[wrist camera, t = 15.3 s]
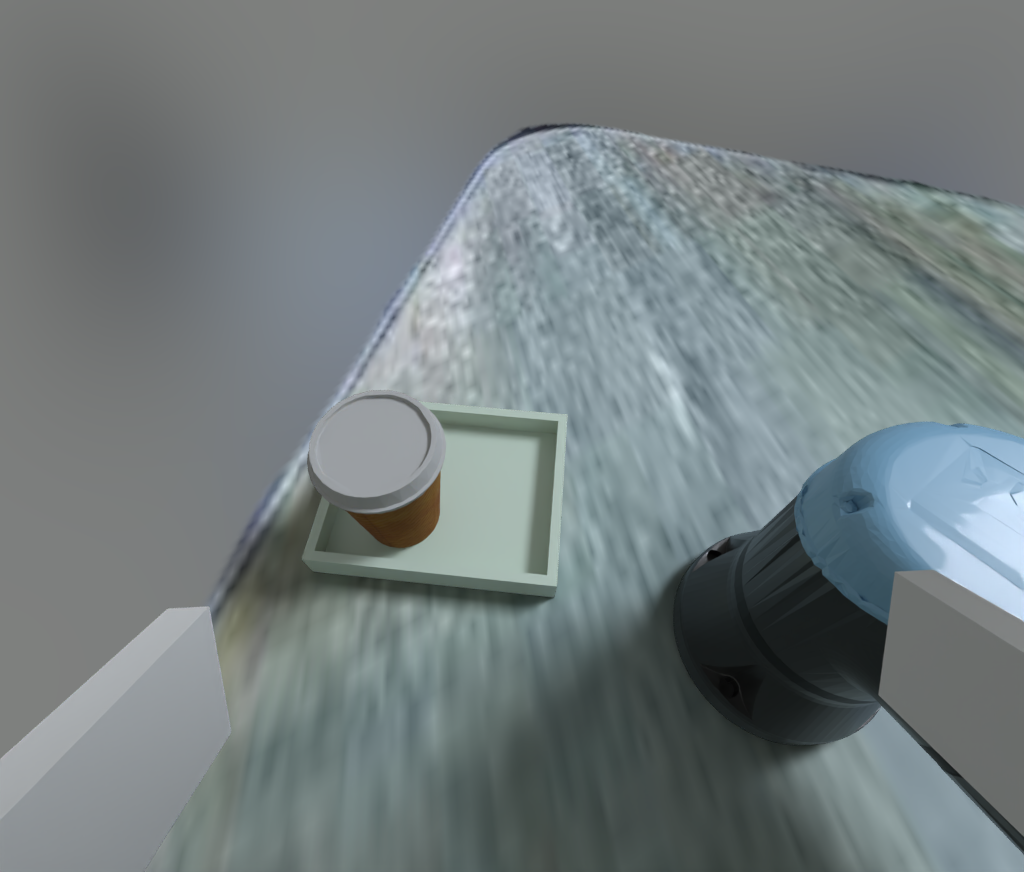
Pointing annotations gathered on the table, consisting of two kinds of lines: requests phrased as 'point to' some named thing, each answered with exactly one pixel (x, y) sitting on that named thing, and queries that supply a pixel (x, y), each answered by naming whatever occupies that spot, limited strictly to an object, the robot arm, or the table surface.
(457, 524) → the sage tray
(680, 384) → the table surface
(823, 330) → the table surface
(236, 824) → the table surface
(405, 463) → the disposable coffee cup
